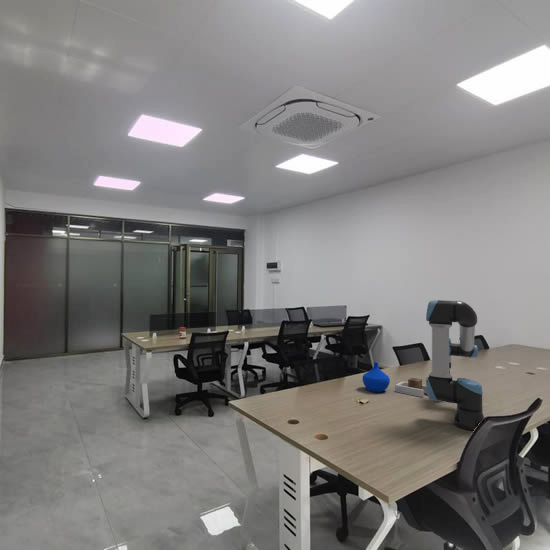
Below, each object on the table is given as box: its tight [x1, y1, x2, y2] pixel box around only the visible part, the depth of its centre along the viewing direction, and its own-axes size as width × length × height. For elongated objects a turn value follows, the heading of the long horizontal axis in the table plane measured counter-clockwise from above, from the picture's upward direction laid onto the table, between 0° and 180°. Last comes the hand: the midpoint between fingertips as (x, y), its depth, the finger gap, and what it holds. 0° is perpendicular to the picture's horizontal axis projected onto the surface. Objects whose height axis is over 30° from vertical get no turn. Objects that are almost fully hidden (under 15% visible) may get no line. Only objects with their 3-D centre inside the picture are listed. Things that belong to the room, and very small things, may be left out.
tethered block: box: [407, 377, 428, 396], centre depth 237 cm, size 25×7×10 cm, turn 49°
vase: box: [362, 361, 391, 393], centre depth 248 cm, size 18×18×19 cm
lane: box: [394, 381, 427, 398], centre depth 244 cm, size 19×13×4 cm
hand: (444, 394), depth 230 cm, fingers open, 13 cm apart
